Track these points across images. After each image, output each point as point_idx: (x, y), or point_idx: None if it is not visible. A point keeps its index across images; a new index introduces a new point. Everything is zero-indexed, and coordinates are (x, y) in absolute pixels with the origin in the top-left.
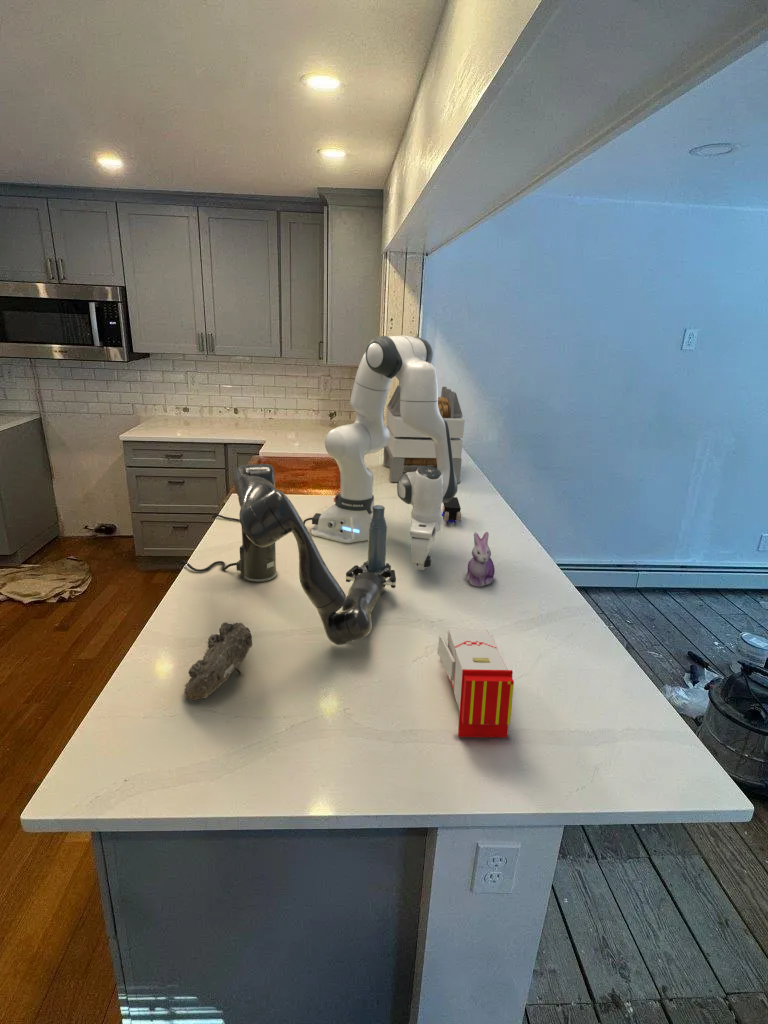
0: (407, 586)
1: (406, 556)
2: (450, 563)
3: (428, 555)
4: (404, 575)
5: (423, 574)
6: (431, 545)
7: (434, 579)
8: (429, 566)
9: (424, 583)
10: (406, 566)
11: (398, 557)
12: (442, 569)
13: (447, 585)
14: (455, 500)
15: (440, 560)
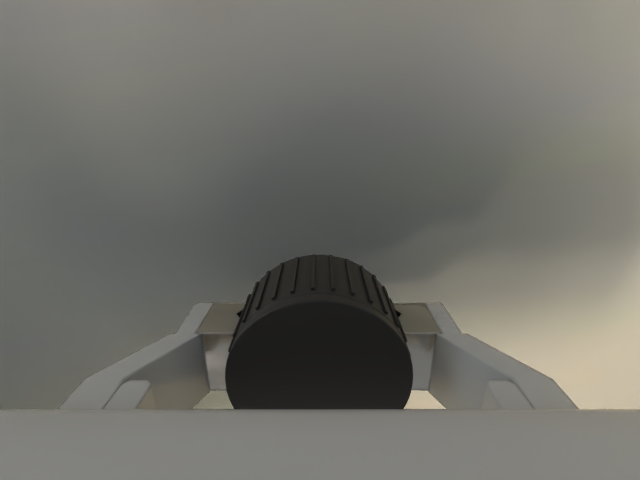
0: (605, 340)
1: None
2: (14, 58)
3: (241, 342)
4: None
5: (370, 270)
6: (109, 452)
7: (446, 164)
8: (343, 259)
9: (540, 234)
10: None
11: None
12: (202, 122)
13: (560, 7)
14: None
15: (9, 175)
